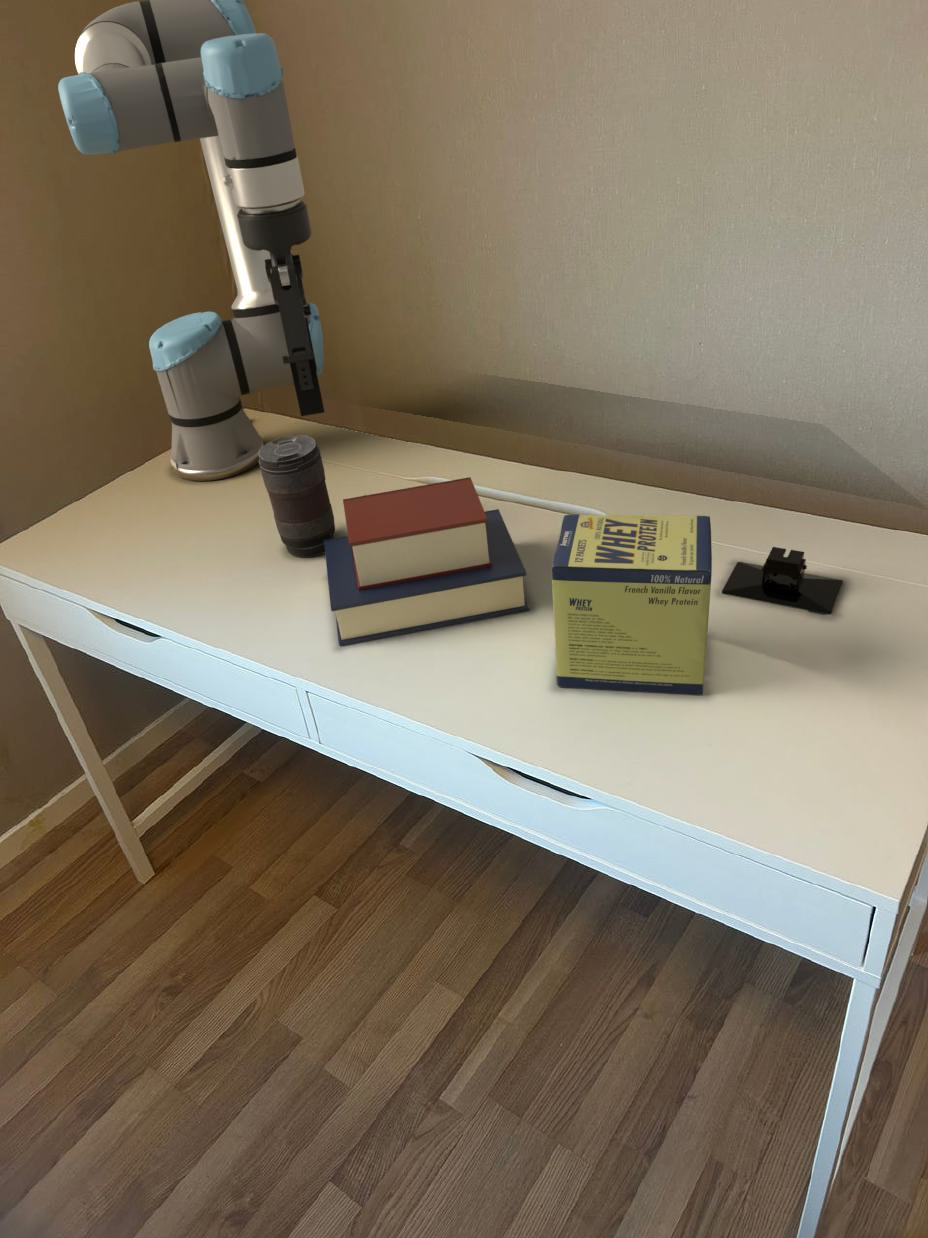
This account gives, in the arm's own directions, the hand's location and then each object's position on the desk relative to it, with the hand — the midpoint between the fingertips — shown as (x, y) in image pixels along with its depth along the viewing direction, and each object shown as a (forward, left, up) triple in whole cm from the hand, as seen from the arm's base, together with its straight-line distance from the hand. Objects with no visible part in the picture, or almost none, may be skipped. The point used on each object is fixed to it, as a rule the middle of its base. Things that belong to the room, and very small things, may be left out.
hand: (309, 391), depth 113 cm
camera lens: (-5, -4, -24) cm, 25 cm away
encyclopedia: (+12, +10, -24) cm, 28 cm away
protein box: (+33, +30, -24) cm, 50 cm away
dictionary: (+12, +10, -18) cm, 24 cm away
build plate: (+25, +51, -24) cm, 61 cm away
